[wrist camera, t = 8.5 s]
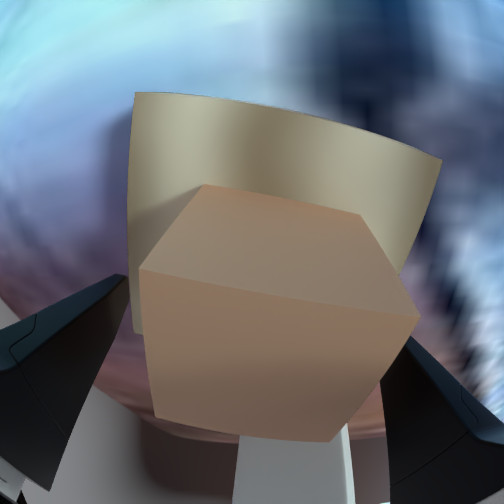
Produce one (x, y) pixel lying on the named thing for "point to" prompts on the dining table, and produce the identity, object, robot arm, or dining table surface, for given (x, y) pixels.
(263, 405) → the tan cube
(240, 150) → the birch block
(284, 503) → the milk carton
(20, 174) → the dining table surface
